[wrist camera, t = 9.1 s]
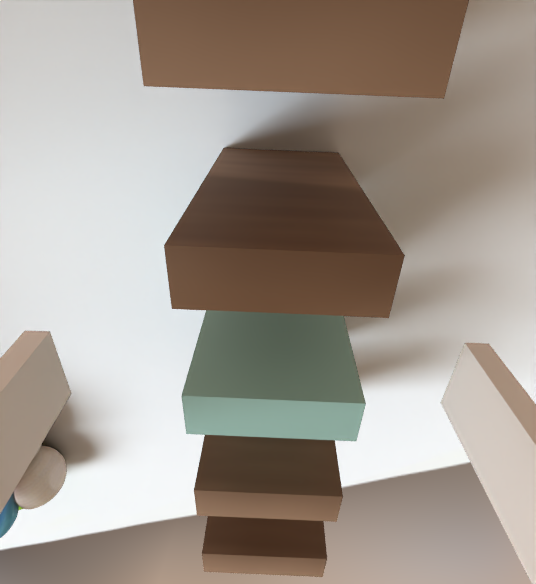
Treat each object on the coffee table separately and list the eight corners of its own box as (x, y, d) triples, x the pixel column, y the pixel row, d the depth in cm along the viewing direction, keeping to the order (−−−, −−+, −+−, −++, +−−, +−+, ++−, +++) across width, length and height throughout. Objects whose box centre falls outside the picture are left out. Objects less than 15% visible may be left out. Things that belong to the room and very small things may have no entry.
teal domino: (322, 274, 19) (356, 441, 11) (226, 270, 19) (186, 433, 11) (326, 246, 19) (365, 404, 10) (225, 242, 19) (181, 395, 10)
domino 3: (314, 341, 22) (336, 521, 13) (228, 338, 22) (197, 515, 13) (317, 319, 21) (342, 496, 12) (228, 316, 21) (193, 490, 13)
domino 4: (307, 395, 24) (322, 576, 16) (230, 392, 24) (204, 571, 16) (309, 377, 23) (327, 559, 15) (229, 374, 23) (202, 553, 15)
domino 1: (348, 75, 15) (444, 97, 6) (221, 70, 15) (143, 85, 6) (354, 26, 14) (475, -28, 5) (220, 20, 14) (128, -41, 5)
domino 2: (333, 189, 17) (388, 317, 9) (224, 184, 17) (171, 308, 9) (338, 152, 16) (404, 255, 8) (223, 148, 16) (164, 245, 8)
